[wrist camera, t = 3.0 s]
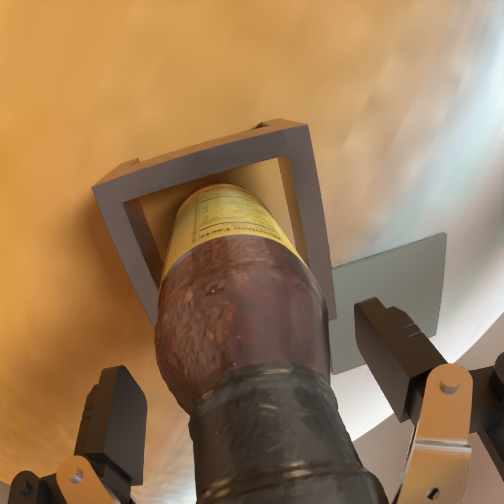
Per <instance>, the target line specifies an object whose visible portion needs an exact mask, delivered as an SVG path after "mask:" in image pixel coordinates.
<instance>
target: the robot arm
mask: <svg viewBox="0 0 504 504" xmlns="http://www.w3.org/2000/svg"><path fill="white" fill-rule="evenodd" d="M354 321H355V338H356V343H357V346H358V349H359V352H360V353H361V355H362V357H363V359H364V360H365V362H366V364H367V366H368V367H369V369H370V371H371V372H372V374H373V376H374V378H375V379H376V381H377V383H378V385H379V386H380V388H381V390H382V392H383V393H384V395H385V397H386V399H387V400H388V402H389V404H390V406H391V407H392V409H393V411H394V413H395V414H396V416H397V418H398V420H399V422H400V423H402V422H404V421H406V420H408V419H411V421H412V423H413V424H414V429H413V433H412V437H411V442H410V445H409V449H408V453H407V456H406V460H405V464H404V467H403V470H402V473H401V476H400V479H399V482H398V485H397V488H396V491H395V493H394V496H393V499H392V502H391V504H462V501H463V497H464V492H465V487H466V482H467V477H468V472H469V466H470V459H471V447H470V446H469V445H468V435H469V434H470V433H474V432H477V433H478V435H479V437H480V439H481V440H482V442H483V444H484V445H485V448H486V449H487V451H488V453H489V455H490V457H491V458H492V460H493V462H494V464H495V466H496V468H497V470H498V472H499V474H500V476H501V477H502V479H503V481H504V352H503V353H502V354H500V355H499V356H498V358H497V360H496V362H495V365H494V366H490V367H486V368H481V369H477V370H471V371H467V370H466V369H465V368H464V367H462V366H460V365H457V364H449V363H448V362H447V361H446V360H445V359H444V358H443V356H442V355H441V354H440V353H439V351H438V350H437V349H436V348H435V347H434V345H433V344H432V343H431V342H430V340H429V339H428V338H427V337H426V336H425V334H424V333H423V332H421V330H420V328H419V327H418V326H417V325H416V324H415V323H414V321H413V320H412V319H411V318H410V317H409V315H408V314H407V313H406V312H404V311H402V310H400V309H398V308H397V307H395V306H392V307H389V308H385V307H384V305H383V304H382V303H381V302H380V300H379V299H378V298H377V297H372V298H369V299H366V300H364V301H361V302H358V303H355V304H354ZM84 409H85V410H84V411H83V415H82V420H81V424H80V428H79V432H78V437H77V441H76V446H75V451H74V455H73V456H71V457H68V458H67V459H65V460H64V461H63V462H62V463H61V464H60V466H59V467H58V470H57V473H55V474H52V475H48V476H45V477H42V478H39V477H38V476H36V475H35V474H34V473H32V472H31V471H22V472H20V473H19V474H17V475H16V476H15V478H14V479H13V481H12V483H11V488H10V493H9V499H8V504H139V502H138V501H137V500H136V499H135V497H134V496H133V495H132V494H131V493H130V492H131V486H138V485H143V464H144V446H145V432H146V419H147V401H146V398H145V395H144V393H143V391H142V390H141V388H140V387H139V386H138V384H137V383H136V381H135V380H134V378H133V377H132V376H131V374H130V373H129V371H128V370H127V368H126V367H125V366H123V365H121V366H116V367H111V368H105V369H103V370H102V372H101V376H100V380H99V384H97V385H94V387H93V388H92V390H91V391H90V393H89V394H88V396H87V399H86V403H85V407H84Z"/></svg>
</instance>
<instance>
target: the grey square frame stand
mask: <svg viewBox="0 0 504 504" xmlns="http://www.w3.org/2000/svg"><path fill="white" fill-rule="evenodd" d="M261 126H262V128H257V129H253V130H249V131H245V132H241V133H237V134H233V135H229V136H225V137H222V138H218V139H214V140H211V141H207V142H204V143H200V144H197V145H193V146H190V147H187V148H183V149H180V150H177V151H173V152H170V153H167V154H164V155H161V156H158V157H155V158H152V159H149V160H146V161H143V162H139V159H138V158H137V159H134V160H131V161H128V162H125V163H123V164H121V165H119V166H118V167H117V168H115V169H114V170H113V171H111V172H110V173H109V174H108V175H106V176H105V177H104V178H103V179H101V180H100V181H99V182H98V183H96V184H95V185H94V186H93V187H92V190H93V193H94V195H95V198H96V201H97V203H98V206H99V209H100V211H101V214H102V216H103V219H104V221H105V224H106V226H107V229H108V231H109V233H110V236H111V238H112V241H113V243H114V245H115V248H116V250H117V252H118V255H119V257H120V259H121V261H122V264H123V266H124V268H125V270H126V273H127V275H128V277H129V279H130V281H131V283H132V285H133V288H134V290H135V292H136V294H137V296H138V298H139V300H140V302H141V304H142V306H143V308H144V310H145V312H146V314H147V316H148V318H149V320H150V322H151V324H152V326H153V328H154V330H155V325H156V322H157V317H158V309H157V304H158V295H159V290H160V285H161V279H162V274H163V269H164V264H163V262H162V259H161V257H160V254H159V252H158V249H157V247H156V244H155V242H154V239H153V236H152V234H151V231H150V228H149V226H148V223H147V220H146V218H145V215H144V212H143V210H142V207H141V204H140V201H139V198H138V197H140V196H143V195H146V194H149V193H152V192H156V191H159V190H162V189H165V188H168V187H171V186H175V185H178V184H181V183H184V182H188V181H191V180H195V179H198V178H201V177H205V176H208V175H212V174H215V173H219V172H223V171H226V170H230V169H234V168H237V167H241V166H245V165H249V164H253V163H257V162H260V161H264V160H269V159H273V158H278V163H279V167H280V172H281V177H282V181H283V186H284V191H285V195H286V200H287V205H288V210H289V215H290V220H291V225H292V230H293V235H294V240H295V245H296V250H297V253H298V254H299V255H300V257H301V258H302V260H303V261H304V263H305V264H306V265H307V267H308V268H309V270H310V271H311V273H312V274H313V276H314V277H315V279H316V280H317V282H318V284H319V286H320V288H321V290H322V293H323V295H324V298H325V300H326V304H327V309H328V315H329V321H332V320H335V319H337V311H336V302H335V293H334V284H333V276H332V268H331V260H330V252H329V245H328V238H327V231H326V224H325V218H324V211H323V205H322V199H321V193H320V187H319V181H318V175H317V170H316V164H315V159H314V153H313V148H312V143H311V138H310V133H309V128H308V124H303V123H299V122H294V121H289V120H284V119H275V120H270V121H266V122H261Z"/></svg>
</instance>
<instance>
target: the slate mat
mask: <svg viewBox="0 0 504 504" xmlns="http://www.w3.org/2000/svg"><path fill="white" fill-rule="evenodd" d="M446 236H447V234H445V233H441V234H438V235H435V236H432V237H429V238H426V239H423V240H420V241H417V242H414V243H411V244H408V245H405V246H402V247H398V248H395V249H392V250H389V251H386V252H383V253H380V254H376V255H373V256H370V257H367V258H364V259H360V260H357V261H354V262H351V263H347V264H344V265H341V266H338V267H334V268H332V276H333V284H334V293H335V302H336V311H337V319H335V320H332V321H329V345H330V354H331V364H332V373H333V375H336V374H339V373H342V372H345V371H348V370H350V369H353V368H356V367H359V366H362V365H364V364H366V362H365V360H364V359H363V357H362V355H361V353H360V352H359V349H358V346H357V343H356V338H355V321H354V304H355V303H358V302H361V301H364V300H366V299H369V298H372V297H377V298H378V299H379V300H380V302H381V303H382V304H383V305H384V307H385V308H389V307H392V306H395V307H397V308H398V309H400V310H402V311H404V312H406V313H407V314H408V315H409V317H410V318H411V319H412V320H413V321H414V323H415V324H416V325H417V326H418V327H419V328H420V330H421V332H423V333H424V334H425V336H426V337H427V338H430V337H432V336H434V335H436V330H437V323H438V317H439V310H440V303H441V295H442V286H443V277H444V266H445V253H446Z"/></svg>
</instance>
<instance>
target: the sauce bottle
mask: <svg viewBox="0 0 504 504" xmlns="http://www.w3.org/2000/svg"><path fill="white" fill-rule="evenodd" d="M157 309H158V317H157V322H156V325H155V341H154V343H155V347H156V350H155V351H156V359H157V364H158V366H159V370H160V373H161V375H162V378H163V380H164V381H165V382H166V384H167V386H168V388H169V390H170V391H171V392H172V393H173V395H174V396H175V398H176V400H177V402H178V404H179V405H180V406H181V407H182V408H183V409H184V410H185V412H186V413H188V414H189V415H190V421H189V424H188V426H189V433H190V437H191V439H192V441H193V451H194V464H195V483H196V497H197V501H196V504H389V502H388V499H387V496H386V495H385V492H384V489H383V487H382V485H381V483H380V481H379V479H378V478H377V477H376V476H375V475H373V474H372V473H371V472H369V471H368V470H367V469H365V468H364V467H363V465H362V463H361V461H360V459H359V457H358V454H357V452H356V450H355V448H354V446H353V444H352V441H351V438H350V435H349V433H348V432H347V431H346V428H345V425H344V424H343V421H342V419H341V417H340V415H339V412H338V404H337V399H336V397H335V394H334V392H333V390H332V388H331V387H330V345H329V315H328V309H327V304H326V300H325V298H324V295H323V293H322V290H321V288H320V286H319V284H318V282H317V280H316V279H315V277H314V276H313V274H312V273H311V271H310V270H309V268H308V267H307V265H306V264H305V263H304V261H303V260H302V258H301V257H300V255H299V254H298V253H297V251H296V250H295V248H294V247H293V245H292V244H291V243H290V241H289V240H288V238H287V237H286V235H285V234H284V232H283V231H282V230H281V228H280V227H279V225H278V224H277V222H276V221H275V219H274V218H273V216H272V215H271V213H270V212H269V211H268V209H267V208H266V206H265V205H264V204H263V202H262V201H261V200H260V199H259V198H258V197H257V196H255V195H254V194H253V193H251V192H250V191H248V190H246V189H245V188H243V187H241V186H238V185H233V184H229V183H228V184H224V183H220V184H212V185H209V184H208V185H205V186H202V187H200V188H198V190H197V191H195V192H194V193H192V194H191V195H190V196H189V197H188V198H187V199H186V201H185V202H184V203H183V204H182V205H181V207H180V208H179V210H178V212H177V216H176V219H175V220H174V223H173V227H172V231H171V235H170V240H169V244H168V249H167V253H166V259H165V264H164V269H163V274H162V279H161V285H160V290H159V295H158V304H157Z"/></svg>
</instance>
